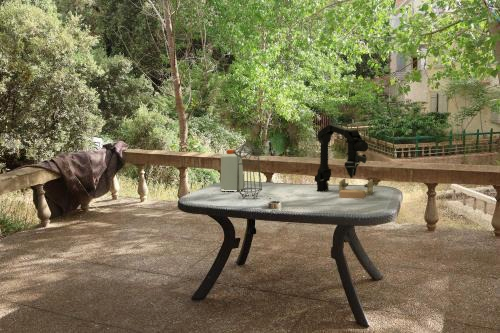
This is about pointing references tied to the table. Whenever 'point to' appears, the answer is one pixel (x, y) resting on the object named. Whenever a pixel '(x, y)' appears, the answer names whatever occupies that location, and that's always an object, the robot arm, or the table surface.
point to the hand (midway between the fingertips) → (352, 176)
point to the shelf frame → (367, 192)
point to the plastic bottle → (231, 171)
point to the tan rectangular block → (351, 194)
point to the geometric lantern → (250, 168)
